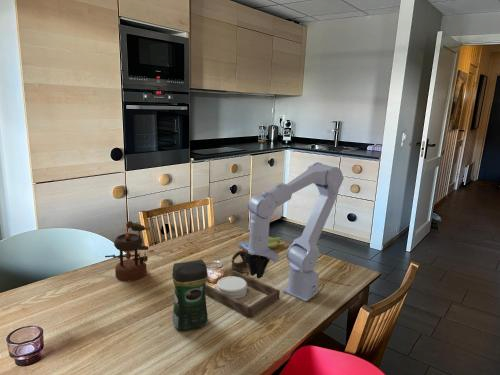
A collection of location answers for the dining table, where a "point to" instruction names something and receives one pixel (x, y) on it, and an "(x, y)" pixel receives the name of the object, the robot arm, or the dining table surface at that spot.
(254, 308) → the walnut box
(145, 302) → the dining table surface
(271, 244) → the edible corn
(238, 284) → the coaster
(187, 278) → the coffee jar
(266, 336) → the dining table surface
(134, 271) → the music box
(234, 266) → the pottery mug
